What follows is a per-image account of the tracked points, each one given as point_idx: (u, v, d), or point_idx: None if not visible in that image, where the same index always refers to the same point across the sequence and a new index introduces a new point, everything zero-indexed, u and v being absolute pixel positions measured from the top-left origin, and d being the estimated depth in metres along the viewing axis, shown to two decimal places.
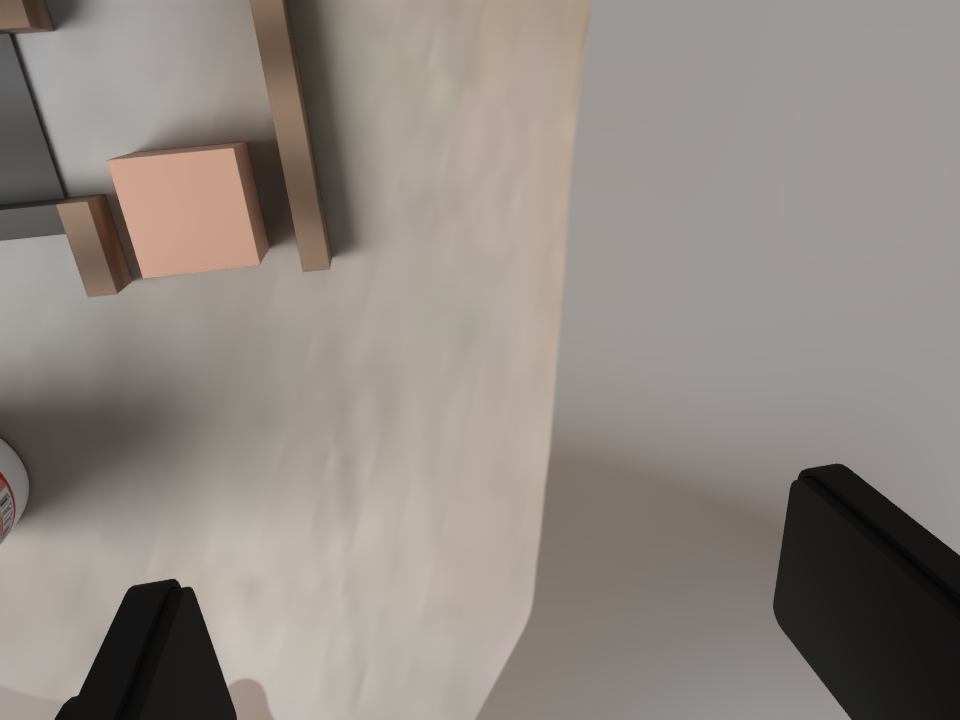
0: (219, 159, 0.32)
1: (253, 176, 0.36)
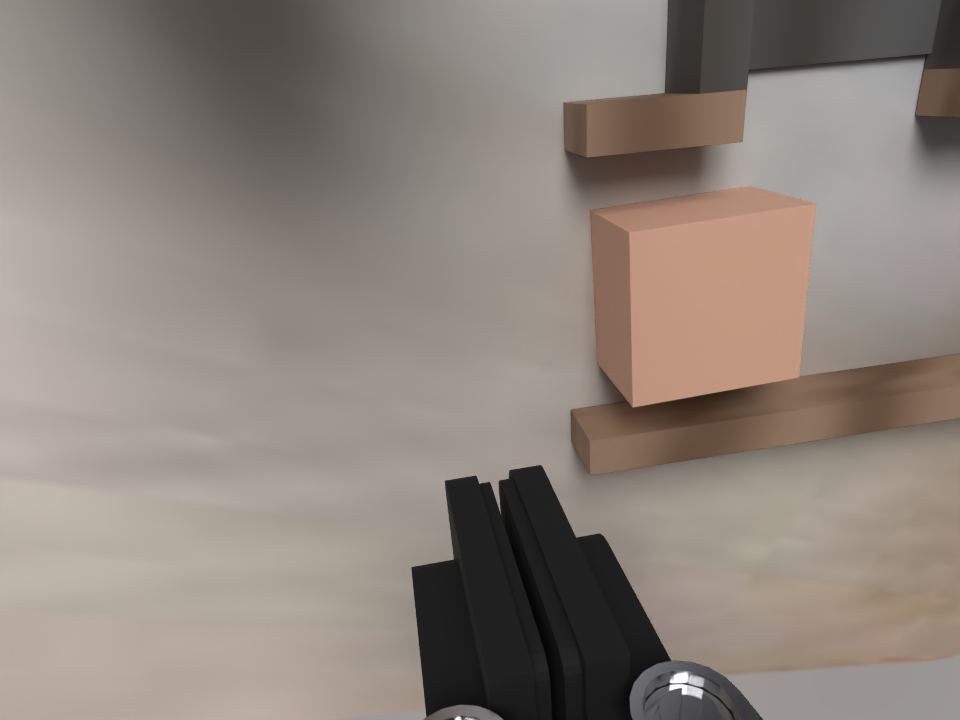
0: (787, 359, 0.22)
1: None
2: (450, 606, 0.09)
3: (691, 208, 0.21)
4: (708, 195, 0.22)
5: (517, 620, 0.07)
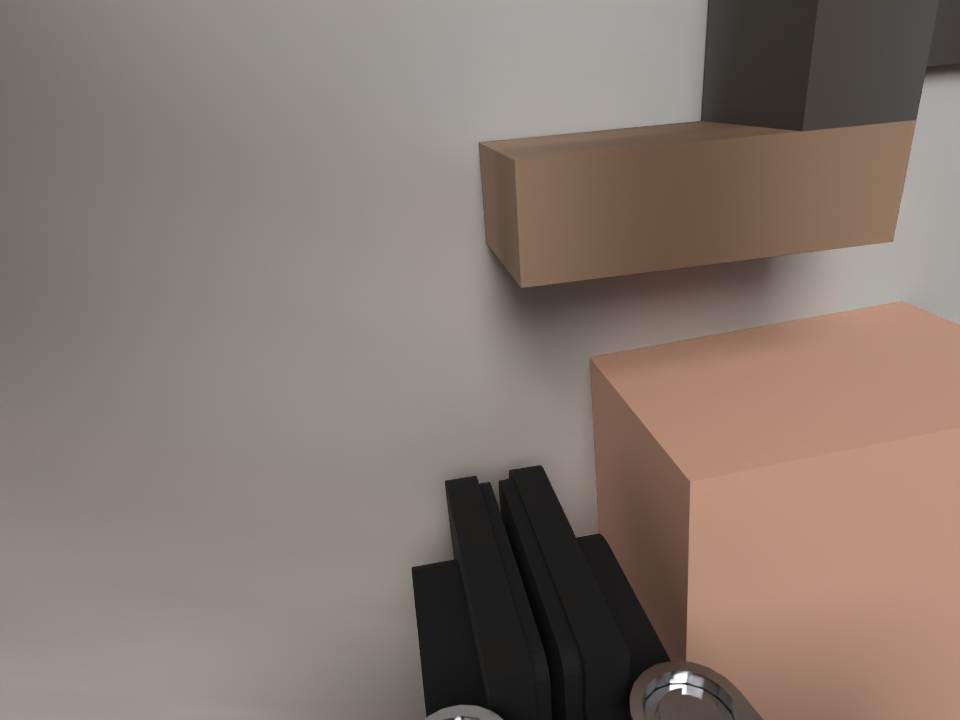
0: None
1: None
2: (450, 606, 0.09)
3: (812, 378, 0.10)
4: (829, 328, 0.11)
5: (517, 620, 0.07)
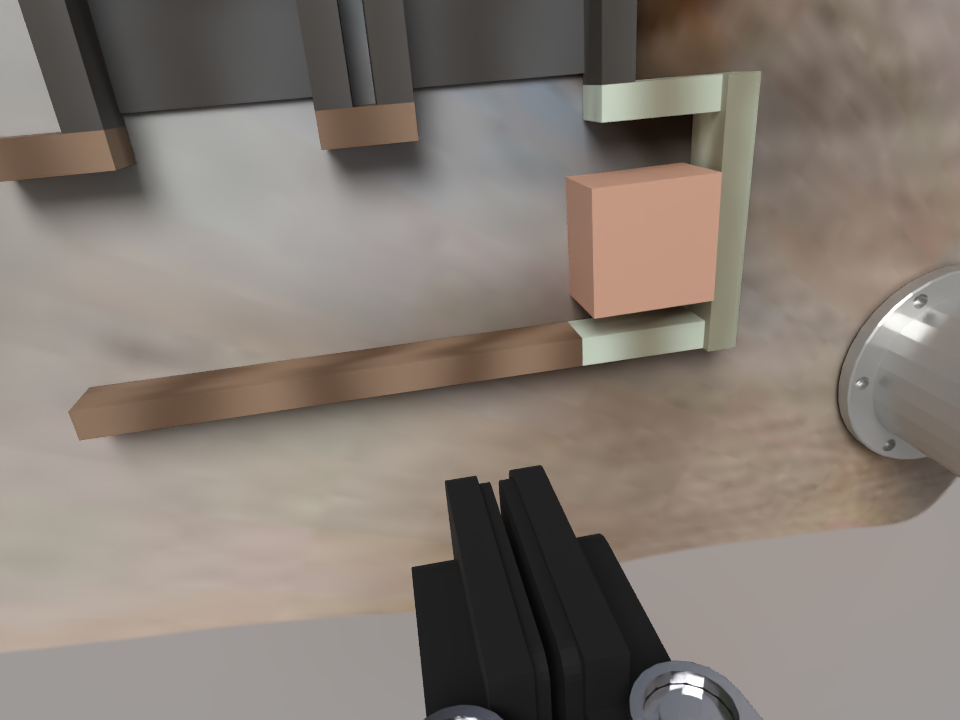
0: (705, 286, 0.30)
1: None
2: (450, 606, 0.09)
3: (637, 175, 0.29)
4: (651, 168, 0.31)
5: (517, 620, 0.07)
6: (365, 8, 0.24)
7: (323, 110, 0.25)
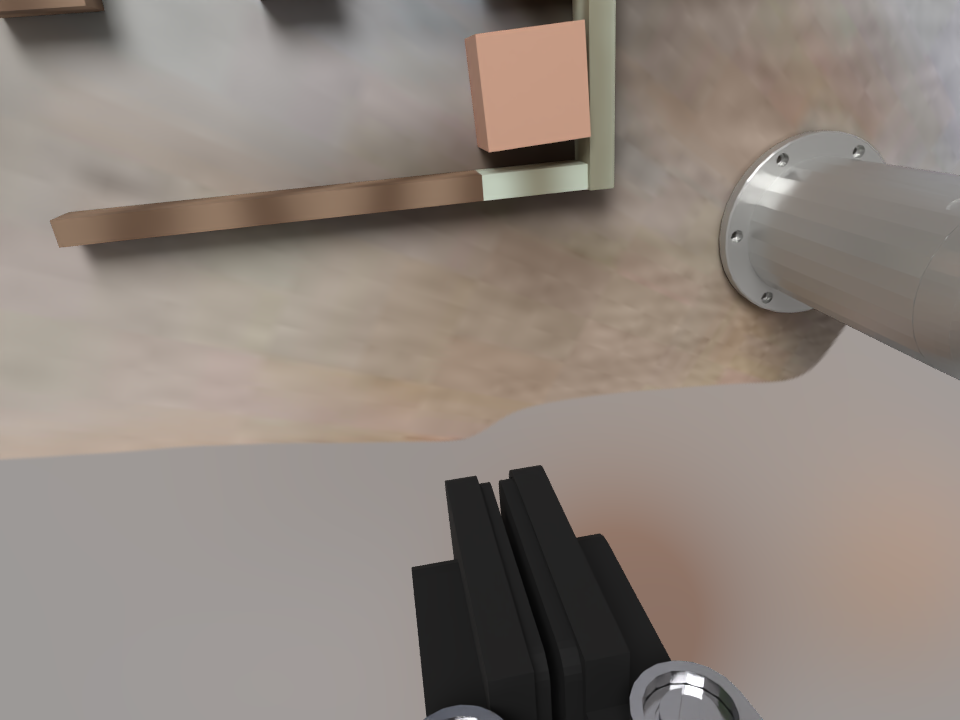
0: (582, 123, 0.36)
1: None
2: (450, 606, 0.09)
3: None
4: None
5: (517, 620, 0.07)
6: None
7: None
